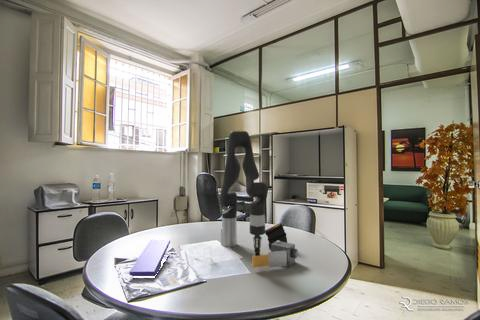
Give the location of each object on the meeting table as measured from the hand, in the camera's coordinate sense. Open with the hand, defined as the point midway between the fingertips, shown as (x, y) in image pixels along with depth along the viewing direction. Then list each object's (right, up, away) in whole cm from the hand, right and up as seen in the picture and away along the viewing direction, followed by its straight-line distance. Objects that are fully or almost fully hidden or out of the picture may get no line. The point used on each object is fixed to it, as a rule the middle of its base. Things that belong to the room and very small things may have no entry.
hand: (257, 259), depth 113 cm
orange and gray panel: (+6, -3, -2) cm, 7 cm away
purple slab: (-52, -5, +3) cm, 52 cm away
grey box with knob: (+15, -4, +6) cm, 16 cm away
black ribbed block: (+13, -5, +26) cm, 30 cm away
